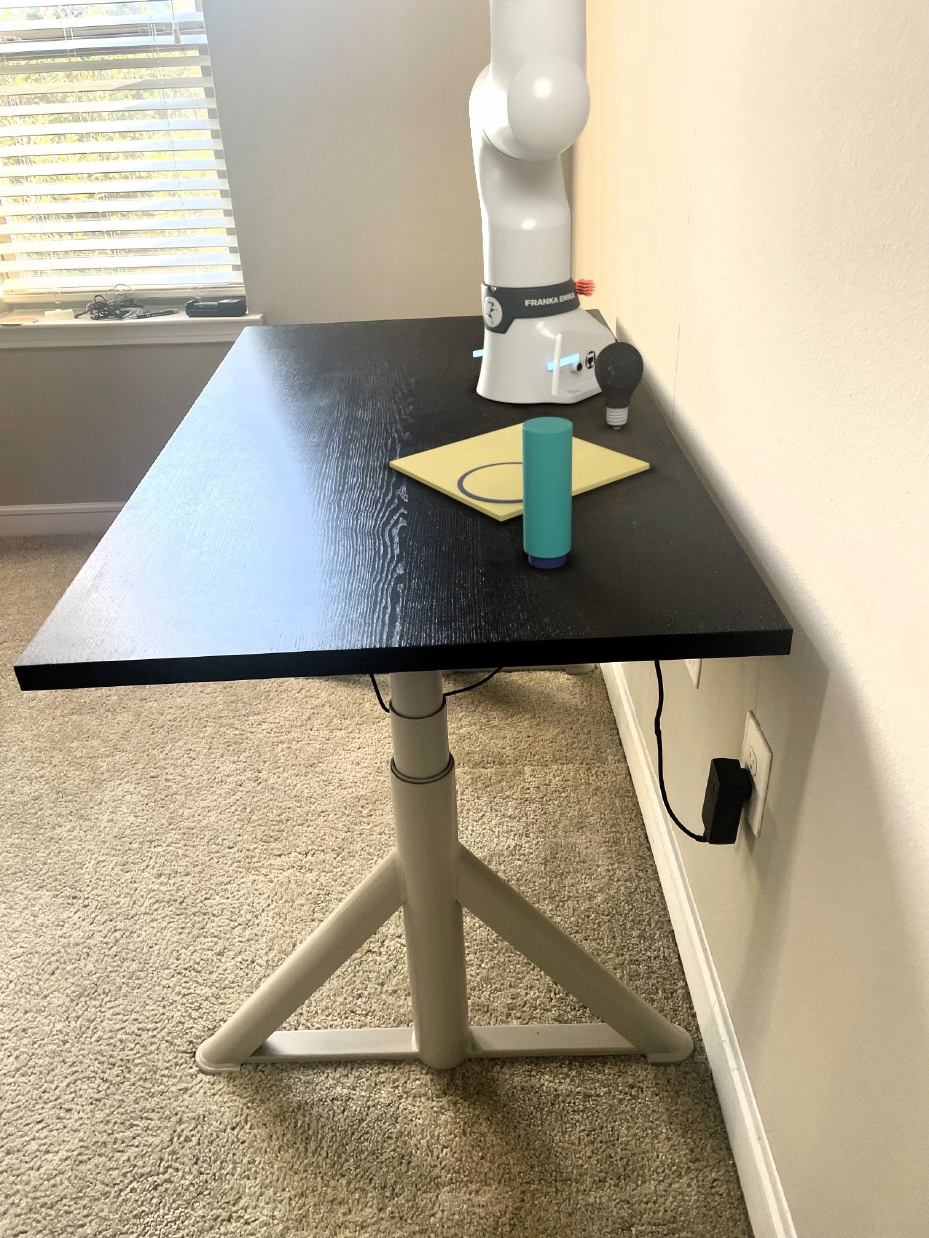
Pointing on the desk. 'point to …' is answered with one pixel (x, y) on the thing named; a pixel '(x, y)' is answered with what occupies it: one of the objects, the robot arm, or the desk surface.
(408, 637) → the desk surface
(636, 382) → the light bulb
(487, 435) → the writing pad
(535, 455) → the cylinder
